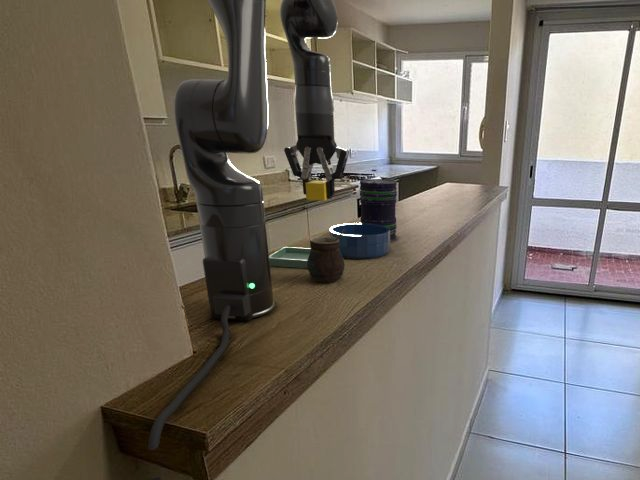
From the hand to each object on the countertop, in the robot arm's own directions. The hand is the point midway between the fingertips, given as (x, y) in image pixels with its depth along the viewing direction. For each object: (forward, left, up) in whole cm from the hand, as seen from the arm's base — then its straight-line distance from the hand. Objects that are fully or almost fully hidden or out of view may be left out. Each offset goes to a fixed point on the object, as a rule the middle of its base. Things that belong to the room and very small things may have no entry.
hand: (319, 197), depth 98 cm
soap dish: (-4, +4, -14) cm, 15 cm away
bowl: (+7, -7, -14) cm, 17 cm away
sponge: (0, 0, 0) cm, 0 cm away
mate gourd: (-15, -6, -14) cm, 22 cm away
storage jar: (+23, -8, -14) cm, 28 cm away
